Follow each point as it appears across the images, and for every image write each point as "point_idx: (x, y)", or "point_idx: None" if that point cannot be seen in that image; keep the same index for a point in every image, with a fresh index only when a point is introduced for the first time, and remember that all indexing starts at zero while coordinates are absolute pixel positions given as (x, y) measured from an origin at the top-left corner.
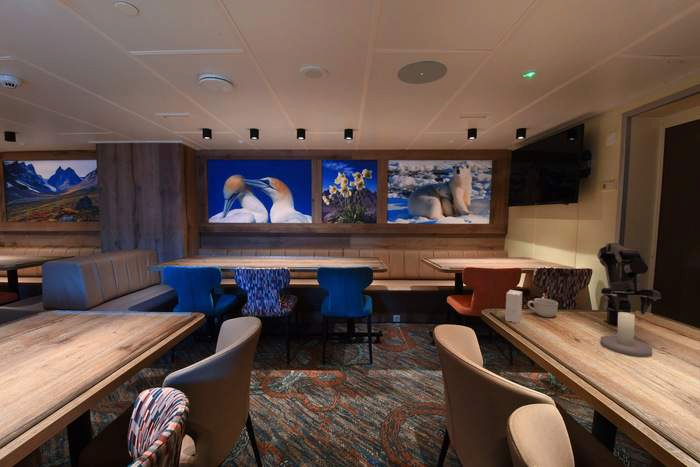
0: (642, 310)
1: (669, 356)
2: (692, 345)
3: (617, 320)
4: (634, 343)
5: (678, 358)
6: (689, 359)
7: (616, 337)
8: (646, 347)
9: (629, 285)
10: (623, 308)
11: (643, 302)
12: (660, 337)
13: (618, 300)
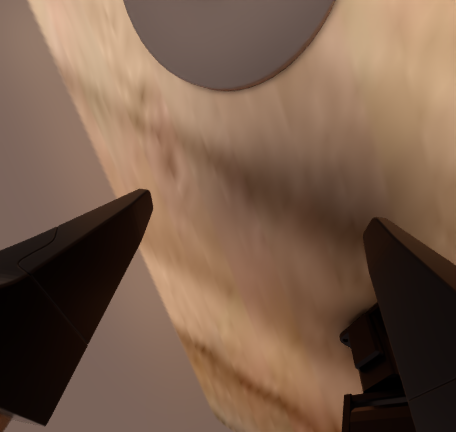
0: (115, 203)
1: (118, 81)
2: (154, 274)
3: (381, 332)
4: (196, 10)
5: (102, 92)
6: (92, 121)
7: (290, 9)
8: (148, 12)
9: None
10: (374, 411)
11: (5, 260)
12: (222, 281)
13: (425, 404)
